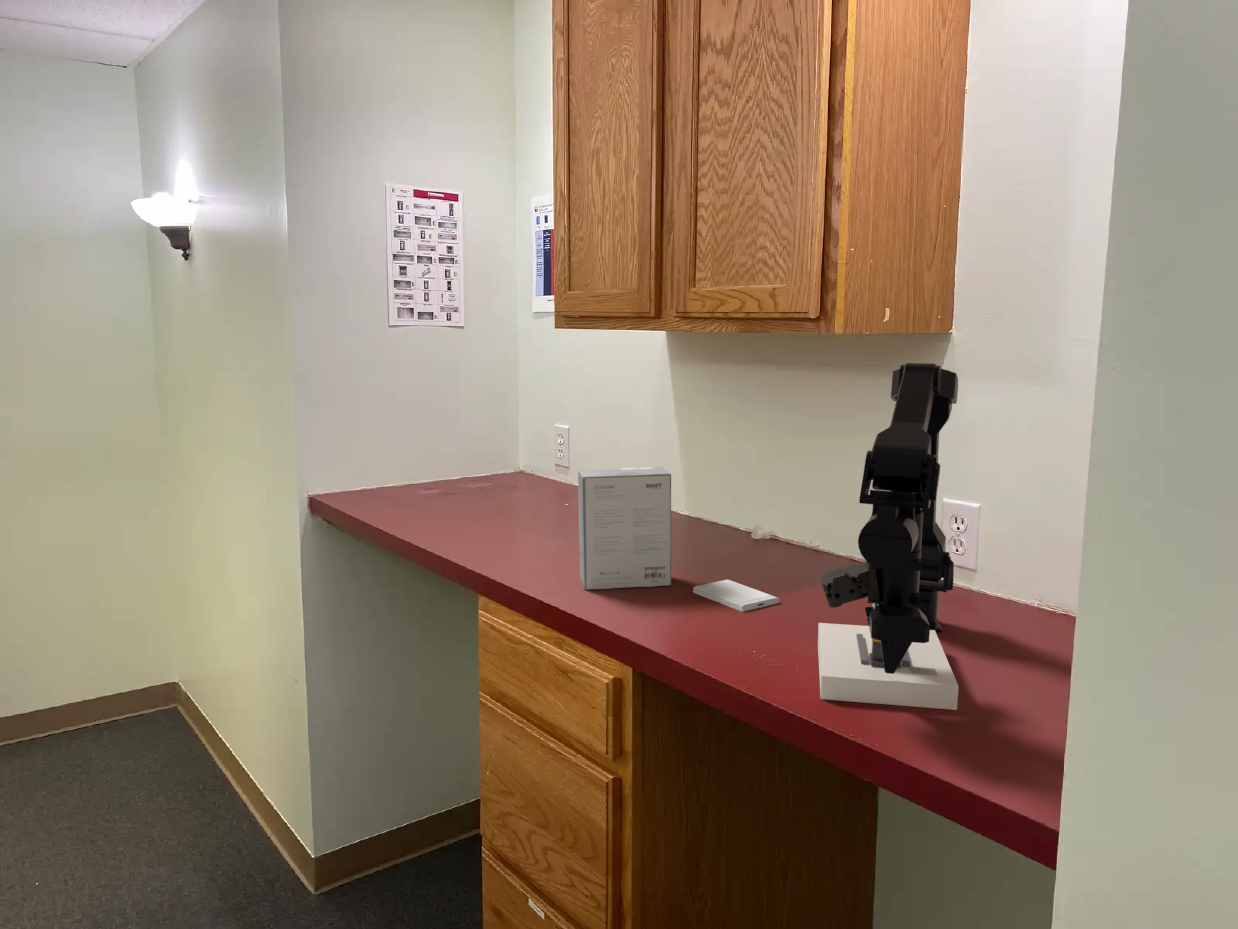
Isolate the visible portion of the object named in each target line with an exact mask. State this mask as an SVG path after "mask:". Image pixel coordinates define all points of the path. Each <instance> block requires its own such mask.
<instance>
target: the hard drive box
mask: <svg viewBox="0 0 1238 929" xmlns="http://www.w3.org/2000/svg"><path fill="white" fill-rule="evenodd" d="M577 484H578V485H577V486H578V488H577V489H578V497H577V498H578V528H579V529H578V533H579V534H578V535H579V536H578V538H579V542H578V544H579V578H580V583H581V585H582V587H583V589H584V590H586V591H587V590H611V589H623V588H651V587H665V586H666V587H668V586H671V585H672V474H671V473H670V472H669V471H667V470H666V469H665V468H664V467H662V466H657V467H654V466H653V467H652V466H650V467H649V466H648V467H626V468H625V467H622V468H607V469H585V470H583V469H582V470H581V469H580V470H577Z"/></svg>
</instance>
